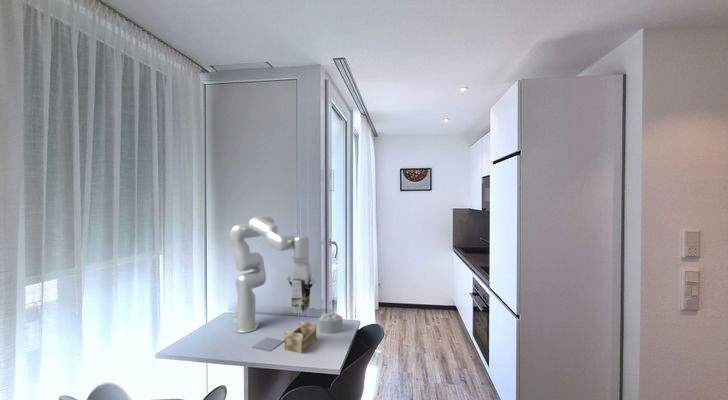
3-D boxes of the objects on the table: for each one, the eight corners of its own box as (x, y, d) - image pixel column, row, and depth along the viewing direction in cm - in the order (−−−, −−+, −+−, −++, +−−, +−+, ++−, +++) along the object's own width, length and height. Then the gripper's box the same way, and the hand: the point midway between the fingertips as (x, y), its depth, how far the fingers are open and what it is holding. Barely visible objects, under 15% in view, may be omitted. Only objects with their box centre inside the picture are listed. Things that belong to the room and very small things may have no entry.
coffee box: (303, 313, 146) (303, 280, 146) (290, 312, 147) (291, 279, 147) (310, 306, 155) (310, 276, 155) (298, 305, 156) (299, 275, 156)
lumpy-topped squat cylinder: (322, 325, 175) (322, 310, 175) (344, 326, 173) (344, 311, 173) (317, 333, 165) (317, 317, 165) (340, 334, 163) (340, 318, 163)
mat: (252, 347, 148) (252, 346, 148) (266, 337, 158) (266, 337, 158) (270, 351, 144) (270, 350, 144) (284, 341, 155) (284, 340, 155)
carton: (284, 349, 146) (284, 331, 146) (299, 338, 159) (299, 321, 159) (302, 353, 143) (302, 334, 143) (316, 341, 155) (316, 324, 155)
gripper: (282, 260, 150) (282, 295, 150) (312, 263, 144) (312, 299, 144) (291, 257, 157) (290, 291, 157) (320, 260, 151) (319, 295, 151)
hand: (301, 295), depth 151 cm, fingers closed on coffee box, 7 cm apart
